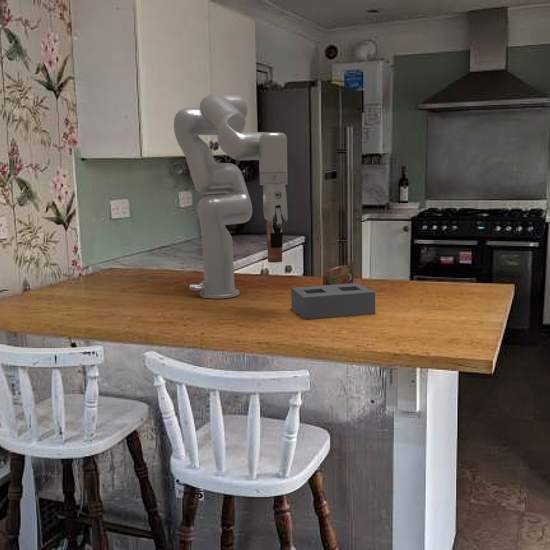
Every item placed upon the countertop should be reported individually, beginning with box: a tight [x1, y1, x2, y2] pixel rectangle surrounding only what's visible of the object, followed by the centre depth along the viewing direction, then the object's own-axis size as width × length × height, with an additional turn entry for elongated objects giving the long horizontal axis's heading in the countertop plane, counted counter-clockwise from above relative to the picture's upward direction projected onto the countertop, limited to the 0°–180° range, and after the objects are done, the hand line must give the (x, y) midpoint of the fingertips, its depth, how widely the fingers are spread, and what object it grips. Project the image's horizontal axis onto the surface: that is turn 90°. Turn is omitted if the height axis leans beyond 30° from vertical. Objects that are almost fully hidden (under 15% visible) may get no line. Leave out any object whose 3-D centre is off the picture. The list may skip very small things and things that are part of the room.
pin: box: [266, 219, 283, 264], centre depth 190 cm, size 4×4×12 cm
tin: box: [322, 264, 354, 286], centre depth 217 cm, size 15×3×8 cm, turn 144°
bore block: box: [290, 282, 376, 320], centre depth 193 cm, size 20×14×6 cm
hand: (274, 245), depth 190 cm, fingers closed on pin, 4 cm apart
